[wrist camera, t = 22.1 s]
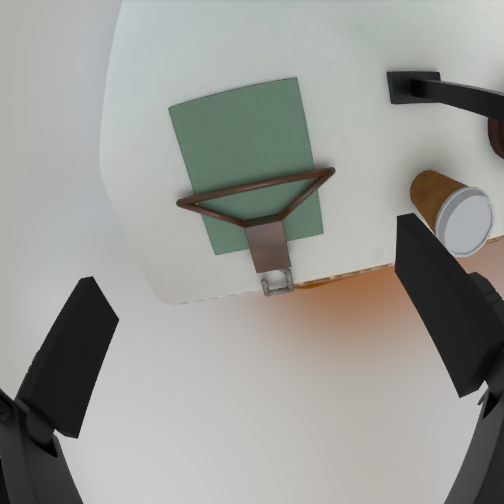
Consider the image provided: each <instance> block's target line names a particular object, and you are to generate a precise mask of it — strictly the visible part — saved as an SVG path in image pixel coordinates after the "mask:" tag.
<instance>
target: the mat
mask: <svg viewBox="0 0 504 504" xmlns="http://www.w3.org/2000/svg"><path fill="white" fill-rule="evenodd" d="M168 109H169V113H170V116H171V119H172V123H173V126H174V129H175V133H176V136H177V139H178V142H179V146H180V149H181V152H182V155H183V158H184V162H185V165H186V168H187V171H188V174H189V177H190V180H191V184H192V187H193V190H194V193H195V195H199V194H203V193H207V192H211V191H215V190H220V189H224V188H228V187H233V186H237V185H242V184H246V183H251V182H255V181H260V180H265V179H270V178H275V177H280V176H285V175H290V174H295V173H300V172H306V171H311V170H314V165H313V159H312V153H311V147H310V142H309V136H308V131H307V125H306V120H305V115H304V110H303V105H302V100H301V95H300V90H299V86H298V81H297V78H291V79H285V80H279V81H274V82H268V83H263V84H258V85H253V86H249V87H244V88H240V89H235V90H231V91H227V92H223V93H219V94H215V95H211V96H208V97H204V98H201V99H197V100H194V101H190V102H187V103H183V104H180V105H177V106H174V107H171V108H168ZM315 180H316V178H311V179H306V180H300V181H295V182H290V183H285V184H280V185H275V186H270V187H265V188H260V189H256V190H251V191H246V192H242V193H237V194H233V195H228V196H224V197H219V198H215V199H211V200H207V201H202V202H198V205H200V206H203V207H206V208H209V209H212V210H215V211H218V212H221V213H224V214H228V215H231V216H234V217H237V218H240V219H243V220H248V219H253V218H258V217H263V216H268V215H273V214H277V213H280V212H281V211H282V210H283V209H284V208H285V207H287V206H288V205H289V204H290V203H291V202H292V201H293V200H294V199H295V198H296V197H297V196H299V195H300V194H301V193H302V192H303V191H304V190H305V189H306V188H307V187H308V186H310V185H311V184H312V183H313V182H314V181H315ZM202 217H203V220H204V223H205V226H206V229H207V232H208V235H209V238H210V241H211V244H212V247H213V249H214V252H215V255H219V254H224V253H229V252H234V251H239V250H244V249H249V248H250V247H249V244H248V240H247V236H246V233H245V229H244V228H243V227H240V226H237V225H234V224H231V223H228V222H225V221H222V220H219V219H215V218H212V217H209V216H206V215H203V214H202ZM282 223H283V228H284V233H285V238H286V241H290V240H295V239H300V238H305V237H310V236H315V235H320V234H323V227H322V219H321V212H320V205H319V197H318V191H317V190H316V191H315V192H313V193H312V194H311V195H310V196H309V197H308V198H307V199H306V200H305V201H303V202H302V203H301V204H300V205H299V206H298V207H297V208H296V209H295V210H293V211H292V212H291V213H290V214H289V215H288V216H287V217H286V218H285V219H283V220H282Z"/></svg>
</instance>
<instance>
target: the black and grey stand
mask: <svg viewBox="0 0 504 504" xmlns="http://www.w3.org/2000/svg"><path fill="white" fill-rule="evenodd" d="M387 77H388V84H389V91H390V98H391V103H392V104H411V103H443V104H447V105H450V106H454V107H457V108H461V109H464V110H468V111H471V112H474V113H477V114H480V115H483V116H486V117H489V118H492V119H495V120H498V121H500V122H503V123H504V93H501V92H497V91H492V90H488V89H483V88H479V87H474V86H469V85H463V84H457V83H451V82H445V81H441V79H440V72H424V71H400V72H387Z"/></svg>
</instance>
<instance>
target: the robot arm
mask: <svg viewBox="0 0 504 504" xmlns="http://www.w3.org/2000/svg"><path fill="white" fill-rule="evenodd" d="M395 273H396V274H397V276H398V278H399V279H400V281H401V283H402V285H403V286H404V288H405V290H406V291H407V293H408V295H409V297H410V298H411V300H412V302H413V304H414V306H415V307H416V309H417V311H418V313H419V315H420V317H421V319H422V320H423V322H424V324H425V326H426V328H427V330H428V332H429V334H430V336H431V338H432V340H433V342H434V343H435V346H436V348H437V350H438V352H439V354H440V356H441V358H442V360H443V362H444V364H445V366H446V368H447V370H448V373H449V375H450V377H451V379H452V382H453V384H454V386H455V388H456V391H457V393H458V395H459V398H461V397H463V396H466V395H468V394H470V393H472V392H474V391H477V390H479V388H480V386H481V385H482V383H483V382H484V380H485V381H486V383H487V385H488V389H487V390H486V392H485V393H484V395H483V396H482V397H481V399H480V400H479V403H478V405H480V404H481V403H482V402H483V405H482V409H481V412H480V415H479V419H478V422H477V425H476V428H475V431H474V434H473V437H472V440H471V443H470V446H469V448H468V451H467V454H466V456H465V459H464V461H463V464H462V466H461V468H460V471H459V473H458V475H457V478H456V480H455V482H454V484H453V486H452V489H451V491H450V493H449V495H448V497H447V499H446V501H445V503H444V504H504V300H502V297H501V296H500V295H499V293H498V292H496V290H495V288H494V287H493V286H492V284H491V283H490V282H489V281H488V279H486V278H485V277H483V276H481V275H480V274H478V273H477V272H474V273H470V274H467V273H466V272H465V270H464V269H463V268H462V267H461V266H460V264H459V263H458V262H457V261H456V259H455V258H454V257H453V256H452V255H451V254H450V252H449V251H448V250H447V249H446V248H445V247H444V245H443V244H442V243H441V242H440V241H439V240H438V239H437V238H436V236H435V235H434V234H433V233H432V232H431V231H430V230H429V229H428V228H427V227H426V225H425V224H424V223H423V222H422V221H421V220H420V219H419V218H418V217H417V216H416V215H415V214H414V213H411V214H405V215H400V216H397V241H396V260H395ZM118 322H119V318H118V317H117V316H116V314H115V312H114V311H113V309H112V307H111V306H110V304H109V303H108V301H107V299H106V298H105V296H104V294H103V293H102V291H101V290H100V288H99V286H98V284H97V283H96V281H95V279H94V278H93V276H91V277H86V278H81V279H80V280H79V282H78V284H77V285H76V287H75V288H74V290H73V292H72V293H71V295H70V297H69V298H68V300H67V302H66V303H65V305H64V307H63V308H62V310H61V312H60V313H59V315H58V317H57V319H56V321H55V322H54V324H53V326H52V328H51V330H50V331H49V333H48V335H47V337H46V339H45V341H44V342H43V344H42V346H41V348H40V350H39V351H38V352H37V353H36V355H35V357H34V359H33V361H32V365H30V367H29V369H28V373H26V375H25V378H24V380H23V382H22V384H21V386H20V388H19V391H18V393H17V395H16V397H15V399H14V401H13V400H12V399H11V398H10V397H9V396H8V395H6V394H5V393H4V392H3V391H2V390H1V389H0V504H83V502H82V499H81V497H80V495H79V493H78V490H77V488H76V486H75V484H74V481H73V479H72V476H71V474H70V471H69V468H68V466H67V463H66V460H65V458H64V455H63V452H62V449H61V446H60V443H59V440H58V438H57V437H56V436H55V435H54V434H53V432H54V429H56V430H57V431H58V432H60V433H61V434H62V435H64V436H67V437H71V438H76V439H77V438H78V436H79V433H80V429H81V426H82V423H83V419H84V416H85V413H86V410H87V407H88V403H89V400H90V397H91V394H92V391H93V389H94V385H95V383H96V380H97V377H98V374H99V371H100V369H101V366H102V363H103V360H104V358H105V355H106V352H107V350H108V347H109V344H110V342H111V339H112V337H113V334H114V332H115V329H116V327H117V324H118Z"/></svg>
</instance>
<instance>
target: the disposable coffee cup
mask: <svg viewBox="0 0 504 504" xmlns="http://www.w3.org/2000/svg"><path fill="white" fill-rule="evenodd" d="M410 195H411V200H412V202H413V203H414V205H415V206H416V207H417V209H418V210H419V212H420V213H421V215H422V216H423V217H424V219H425V220H426V222H427V223H428V225H429V226H430V228H431V229H432V231H433V232H434V234H435V235H436V238H437V239H438V240H439V241H440V242H441V243H442V244H443V245H444V247H445V248H446V249H447V250H448V251H449V252H450V254H451V255H453V256H455V257H466V256H470V255H472V254H474V253H475V252H477V251H478V250H479V249H480V248H481V247H482V246H483V245H484V244H485V242H486V241H487V239H488V238H489V236H490V234H491V232H492V229H493V226H494V219H495V213H494V208H493V205H492V203H491V202H490V199H489V197H488V195H487V194H486V193H485V192H484V191H483V190H481V189H479V188H476V187H469V186H467V185H465V184H462V183H460V182H458V181H455V180H453V179H451V178H449V177H446V176H444V175H442V174H439V173H437V172H435V171H424V172H422V173H421V174H419V175H418V176H417V177H416V178H415V180H414V181H413V183H412V186H411V191H410Z"/></svg>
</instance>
